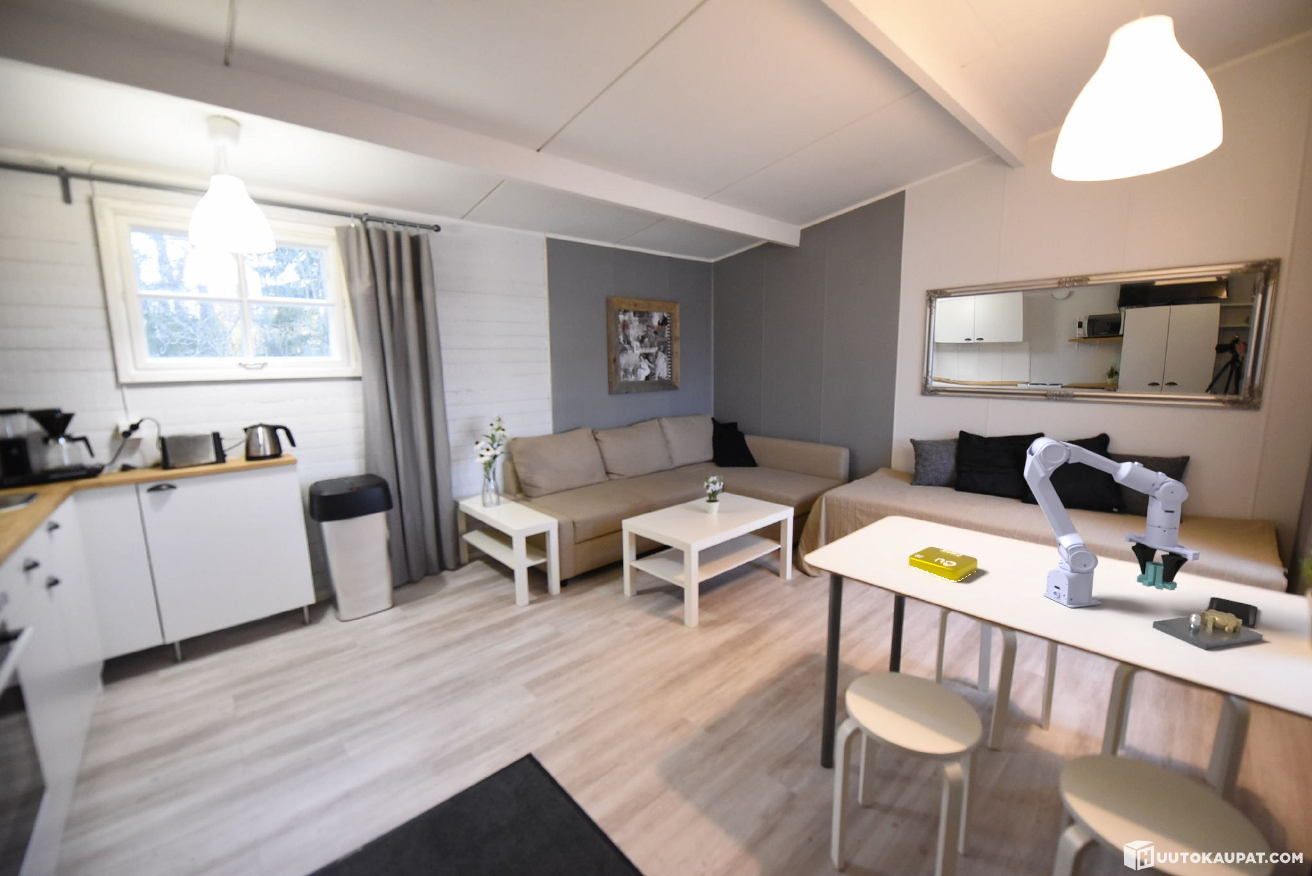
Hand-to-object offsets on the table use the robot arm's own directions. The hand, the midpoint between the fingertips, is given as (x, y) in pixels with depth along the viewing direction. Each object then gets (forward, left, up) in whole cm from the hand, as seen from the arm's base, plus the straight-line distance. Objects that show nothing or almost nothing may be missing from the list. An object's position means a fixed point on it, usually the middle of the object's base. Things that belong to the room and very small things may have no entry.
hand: (1156, 577), depth 126 cm
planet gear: (0, 0, -2) cm, 2 cm away
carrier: (-1, -12, -9) cm, 14 cm away
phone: (+16, -6, -9) cm, 19 cm away
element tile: (-31, +36, -9) cm, 48 cm away
